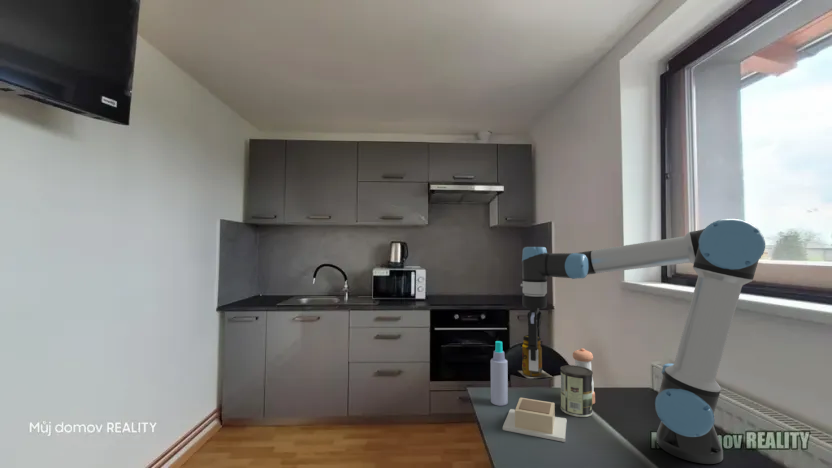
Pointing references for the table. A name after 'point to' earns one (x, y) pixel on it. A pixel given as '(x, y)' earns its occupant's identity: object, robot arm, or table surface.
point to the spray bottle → (499, 376)
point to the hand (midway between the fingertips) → (534, 367)
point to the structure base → (554, 436)
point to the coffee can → (576, 390)
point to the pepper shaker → (584, 364)
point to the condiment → (525, 361)
